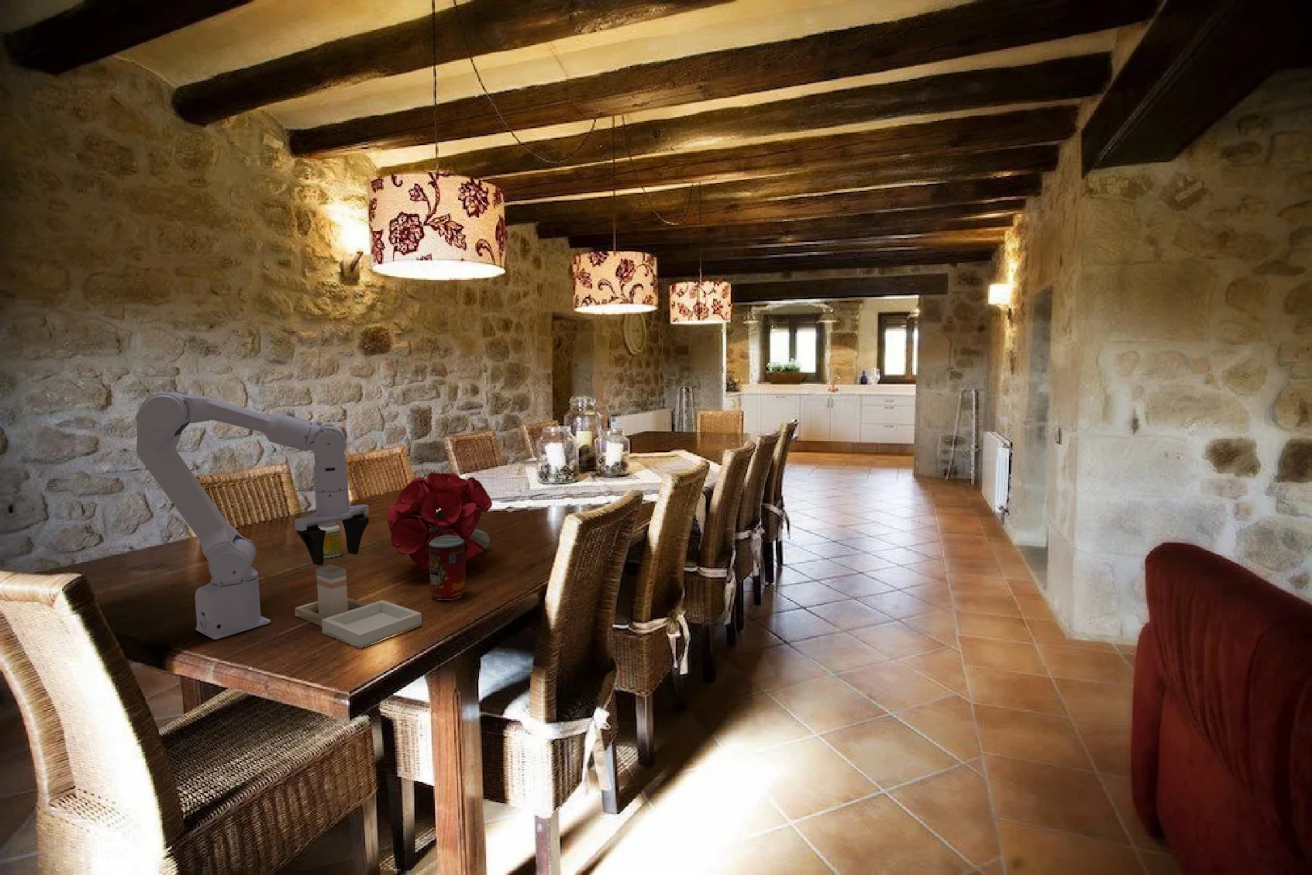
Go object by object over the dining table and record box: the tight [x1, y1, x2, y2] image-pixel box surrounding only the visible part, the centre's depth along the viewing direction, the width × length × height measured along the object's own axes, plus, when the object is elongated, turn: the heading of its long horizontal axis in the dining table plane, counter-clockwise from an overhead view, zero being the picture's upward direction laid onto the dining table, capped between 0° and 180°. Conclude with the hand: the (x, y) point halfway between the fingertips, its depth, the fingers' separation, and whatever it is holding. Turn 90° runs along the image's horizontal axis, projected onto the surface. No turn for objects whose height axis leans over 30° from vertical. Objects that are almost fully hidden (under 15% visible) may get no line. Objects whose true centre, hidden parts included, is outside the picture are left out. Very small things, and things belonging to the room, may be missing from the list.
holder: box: [294, 596, 369, 627], centre depth 127 cm, size 9×11×2 cm
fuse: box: [315, 564, 349, 617], centre depth 126 cm, size 3×5×9 cm, turn 55°
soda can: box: [429, 535, 467, 600], centre depth 136 cm, size 7×7×12 cm
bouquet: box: [385, 472, 493, 571], centre depth 158 cm, size 22×24×30 cm
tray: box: [321, 599, 423, 650], centre depth 119 cm, size 12×12×2 cm
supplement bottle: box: [318, 521, 342, 559], centre depth 165 cm, size 5×5×10 cm
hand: (336, 558), depth 127 cm, fingers open, 7 cm apart
